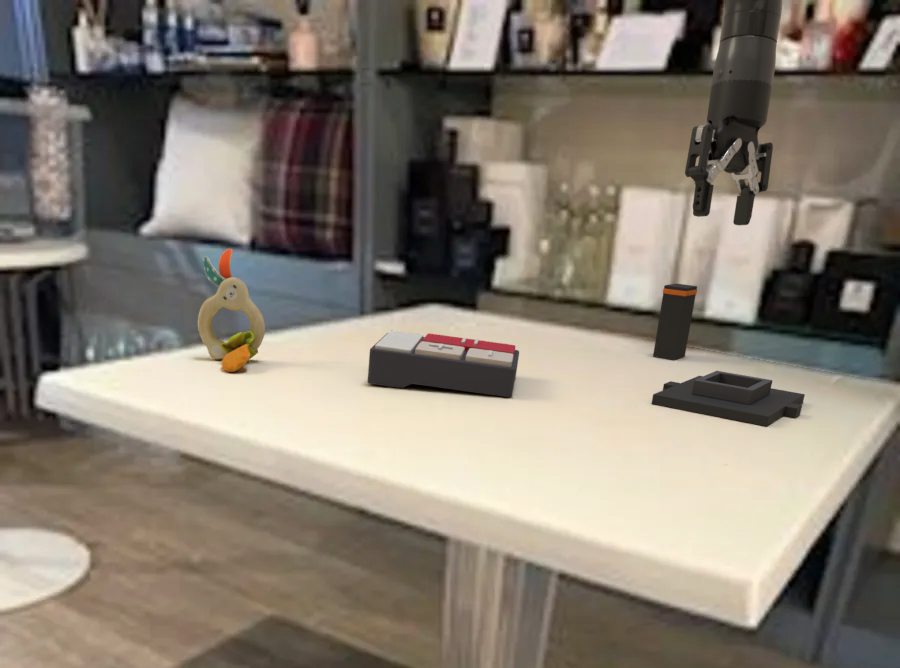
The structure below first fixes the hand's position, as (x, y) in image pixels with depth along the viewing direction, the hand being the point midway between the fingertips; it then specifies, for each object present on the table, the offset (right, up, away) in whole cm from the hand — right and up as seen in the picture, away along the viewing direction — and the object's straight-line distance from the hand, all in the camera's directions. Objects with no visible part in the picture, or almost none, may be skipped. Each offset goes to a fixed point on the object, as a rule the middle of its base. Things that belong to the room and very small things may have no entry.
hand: (721, 220), depth 117 cm
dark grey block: (-7, -18, 0) cm, 20 cm away
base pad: (-7, -30, -24) cm, 39 cm away
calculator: (-37, -27, -22) cm, 51 cm away
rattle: (-61, -25, -22) cm, 69 cm away
